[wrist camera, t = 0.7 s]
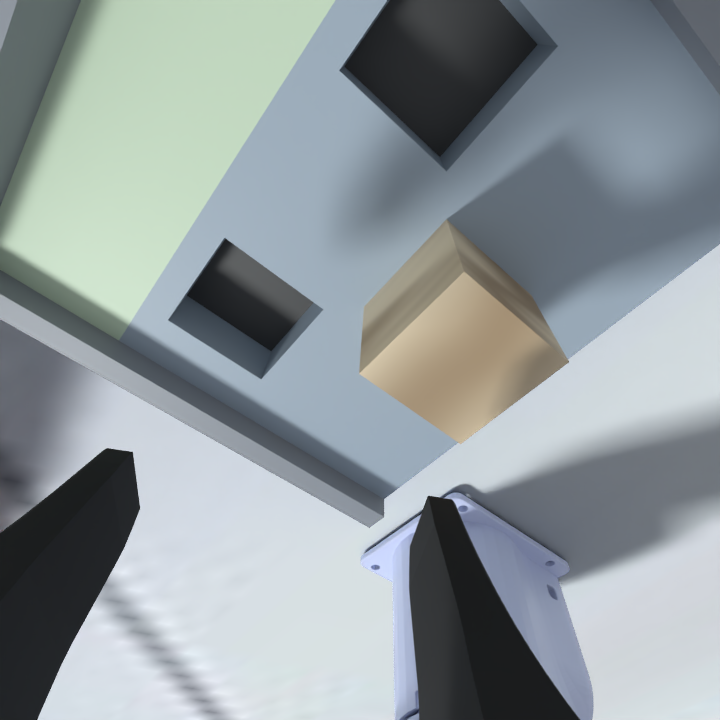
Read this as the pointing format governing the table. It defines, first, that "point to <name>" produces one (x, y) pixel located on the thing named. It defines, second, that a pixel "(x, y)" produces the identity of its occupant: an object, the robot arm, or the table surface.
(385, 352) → the maple block
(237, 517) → the table surface
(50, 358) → the table surface
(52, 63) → the box
